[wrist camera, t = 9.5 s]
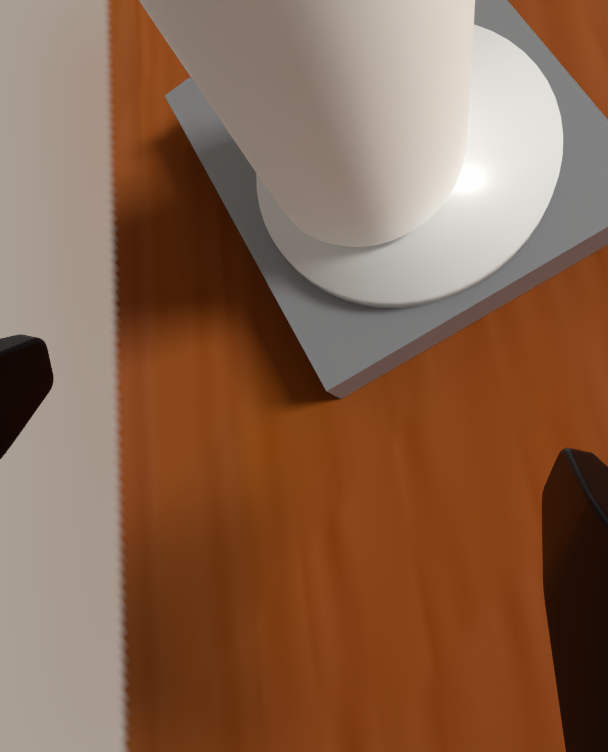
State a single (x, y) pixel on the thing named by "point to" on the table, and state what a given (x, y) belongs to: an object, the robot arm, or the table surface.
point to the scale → (434, 215)
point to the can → (336, 102)
